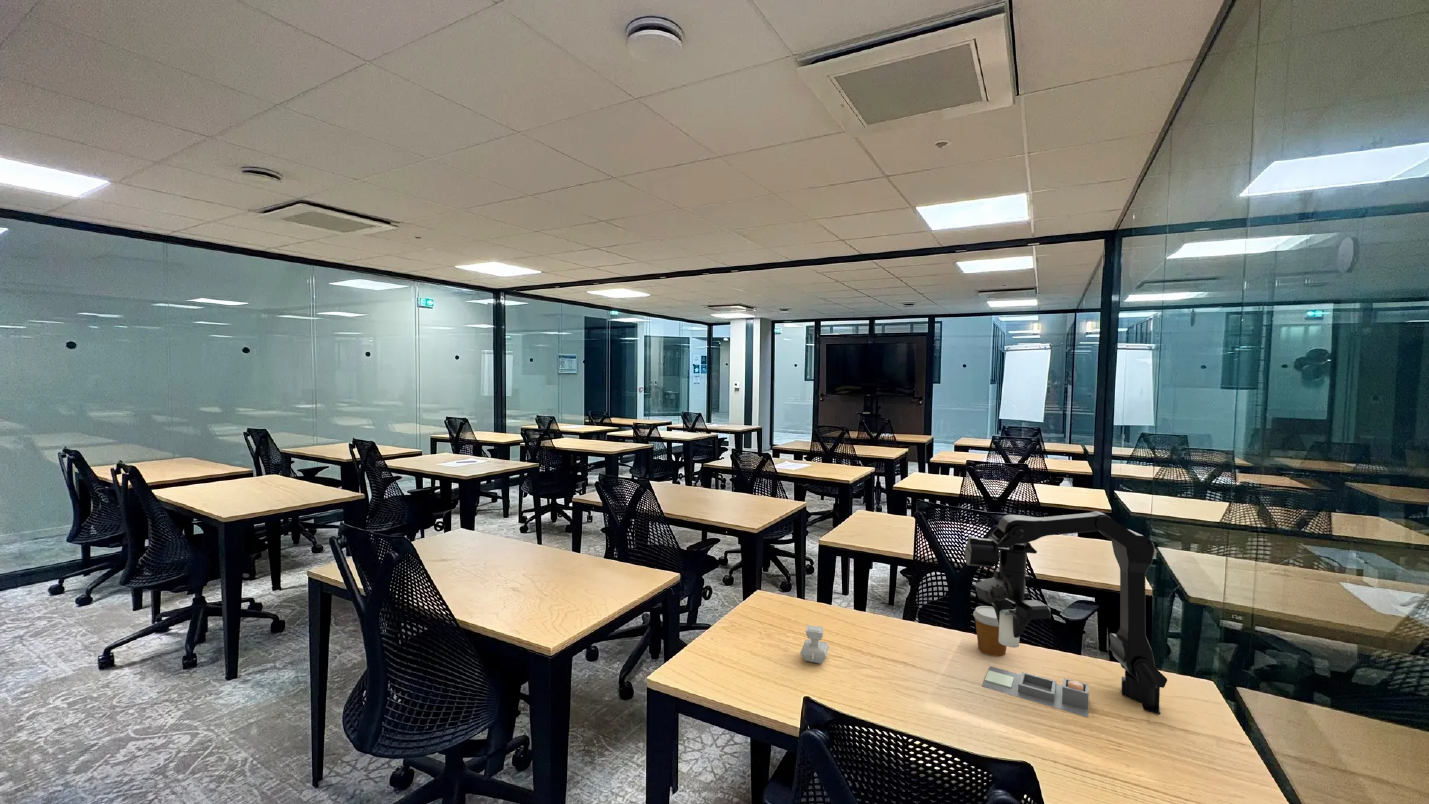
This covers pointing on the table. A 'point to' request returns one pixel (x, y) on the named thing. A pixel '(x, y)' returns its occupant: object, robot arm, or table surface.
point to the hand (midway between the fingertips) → (1009, 632)
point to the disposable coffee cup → (988, 631)
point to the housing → (1039, 690)
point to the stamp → (814, 645)
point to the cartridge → (1007, 630)
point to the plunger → (1075, 685)
